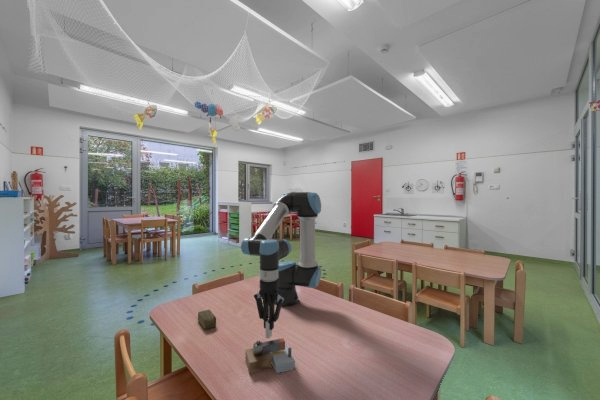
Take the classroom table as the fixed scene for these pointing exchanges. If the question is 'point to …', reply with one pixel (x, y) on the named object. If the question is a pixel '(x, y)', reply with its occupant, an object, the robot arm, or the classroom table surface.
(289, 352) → the grey block with peg
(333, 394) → the classroom table surface
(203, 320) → the stone block
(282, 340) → the latch bar
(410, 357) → the classroom table surface
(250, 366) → the block
